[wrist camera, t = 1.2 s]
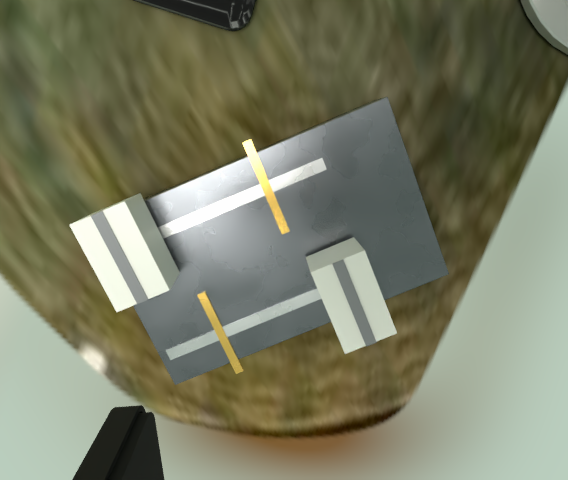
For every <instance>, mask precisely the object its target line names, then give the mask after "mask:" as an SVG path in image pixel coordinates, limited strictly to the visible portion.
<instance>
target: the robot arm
mask: <svg viewBox="0 0 568 480" xmlns="http://www.w3.org/2000/svg"><path fill="white" fill-rule="evenodd" d="M520 1H521V3H522V5H523V8H524V10H525V12H526V15H527V17H528V18H529V19H530V21H531V22H532V24H533V25H534V27H535V28H536V30H537V31H538V32H539V33H540V34H541V35H542V36H543V37H544V38H545V39H546V40H547V41H548V42H549V43H550V44H551V45H552V46H554V47H556V48H557V49H559V50H561V51H562V52H564V53H566V54H567V55H568V0H520ZM73 480H164V475H163V468H162V462H161V456H160V449H159V443H158V437H157V430H156V423H155V418H154V414H153V413H152V412H148V413H146V412H145V409H144V407H143V406H129V407H115V408H113V409H112V410H111V411H110V413H109V415H108V417H107V419H106V421H105V422H104V424H103V426H102V428H101V429H100V431H99V433H98V435H97V437H96V438H95V440H94V442H93V444H92V445H91V447H90V449H89V451H88V453H87V454H86V456H85V458H84V460H83V462H82V464H81V465H80V467H79V469H78V471H77V472H76V474H75V476H74V478H73Z"/></svg>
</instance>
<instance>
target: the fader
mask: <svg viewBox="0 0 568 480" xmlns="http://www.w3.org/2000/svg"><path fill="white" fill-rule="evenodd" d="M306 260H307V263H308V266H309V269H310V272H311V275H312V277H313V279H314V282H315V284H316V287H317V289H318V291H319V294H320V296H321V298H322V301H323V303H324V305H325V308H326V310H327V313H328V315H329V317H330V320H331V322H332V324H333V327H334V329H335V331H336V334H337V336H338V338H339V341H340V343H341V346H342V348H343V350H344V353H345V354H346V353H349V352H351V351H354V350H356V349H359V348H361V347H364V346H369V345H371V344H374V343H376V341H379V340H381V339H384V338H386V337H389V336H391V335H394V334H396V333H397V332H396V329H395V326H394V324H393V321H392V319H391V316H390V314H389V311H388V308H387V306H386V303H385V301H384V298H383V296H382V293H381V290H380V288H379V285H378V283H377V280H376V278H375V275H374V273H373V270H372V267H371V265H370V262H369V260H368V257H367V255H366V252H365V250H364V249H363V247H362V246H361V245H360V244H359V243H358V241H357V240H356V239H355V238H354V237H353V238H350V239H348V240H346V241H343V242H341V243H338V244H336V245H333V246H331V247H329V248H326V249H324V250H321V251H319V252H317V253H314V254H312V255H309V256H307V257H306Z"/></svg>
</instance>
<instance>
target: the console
mask: <svg viewBox="0 0 568 480" xmlns="http://www.w3.org/2000/svg"><path fill="white" fill-rule="evenodd" d="M243 145H244V148H245V150H246V152H247V155H246V156H243V157H241V158H239V159H236V160H234V161H232V162H229V163H227V164H225V165H222V166H220V167H218V168H215V169H213V170H211V171H208V172H206V173H204V174H201V175H199V176H197V177H194V178H192V179H190V180H187V181H185V182H183V183H180V184H178V185H176V186H173V187H171V188H169V189H166V190H164V191H162V192H159V193H157V194H155V195H152V196H150V197H148V198H145V199H143V200H144V202H145V204H146V206H147V208H148V210H149V212H150V214H151V216H152V218H153V220H154V222H155V224H156V226H157V228H158V230H159V232H160V234H161V236H162V238H163V240H164V242H165V244H166V246H167V248H168V250H169V252H170V254H171V256H172V258H173V260H174V262H175V264H176V266H177V268H178V270H179V272H180V273H179V275H178V277H177V279H176V280H175V282H174V284H173V285H172V287H171V289H170V290H169V291H167V292H164V293H162V294H159V295H157V296H155V297H152V298H150V299H148V300H146V301H144V302H141V303H139V304H135V305H133V306H134V308H135V310H136V312H137V314H138V316H139V317H140V319H141V321H142V323H143V325H144V327H145V329H146V331H147V332H148V334H149V336H150V338H151V340H152V342H153V344H154V346H155V348H156V349H157V351H158V353H159V355H160V357H161V359H162V361H163V363H164V364H165V366H166V368H167V370H168V372H169V374H170V376H171V378H172V379H173V381H174V383H175V385H176V384H178V383H181V382H183V381H186V380H188V379H191V378H193V377H196V376H198V375H201V374H203V373H206V372H208V371H210V370H213V369H215V368H218V367H220V366H223V365H225V364H228V363H231V365H232V367H233V369H234V371H235V373H236V374H237V373H240V372H242V371H244V370H243V368H242V366H241V364H240V362H239V360H238V359H240V358H243V357H245V356H248V355H250V354H252V353H255V352H257V351H260V350H262V349H265V348H267V347H270V346H272V345H275V344H277V343H280V342H282V341H285V340H287V339H290V338H292V337H294V336H297V335H299V334H302V333H304V332H307V331H309V330H312V329H314V328H317V327H319V326H322V325H324V324H327V323H329V322H331V320H330V317H329V315H328V313H327V310H326V308H325V305H324V303H323V301H322V298H321V296H320V294H319V291H318V289H317V287H316V284H315V282H314V279H313V277H312V275H311V272H310V269H309V266H308V263H307V260H306V257H307V256H309V255H312V254H314V253H317V252H319V251H321V250H324V249H326V248H329V247H331V246H333V245H336V244H338V243H341V242H343V241H346V240H348V239H350V238H353V237H354V238H355V239H356V240H357V241H358V243H359V244H360V245H361V246H362V247H363V249H364V250H365V252H366V255H367V257H368V260H369V262H370V265H371V267H372V270H373V273H374V275H375V278H376V280H377V283H378V285H379V288H380V290H381V293H382V296H383V298H384V300H386V299H388V298H391V297H393V296H396V295H398V294H401V293H403V292H406V291H408V290H411V289H413V288H415V287H418V286H420V285H423V284H425V283H428V282H430V281H433V280H435V279H438V278H440V277H443V276H445V275H448V274H449V273H448V270H447V267H446V264H445V262H444V259H443V256H442V253H441V250H440V247H439V244H438V241H437V238H436V236H435V233H434V230H433V227H432V224H431V221H430V218H429V215H428V213H427V210H426V207H425V204H424V201H423V198H422V195H421V192H420V190H419V187H418V184H417V181H416V178H415V175H414V172H413V169H412V167H411V164H410V161H409V158H408V155H407V152H406V149H405V146H404V144H403V141H402V138H401V135H400V132H399V129H398V126H397V123H396V120H395V118H394V115H393V112H392V109H391V106H390V103H389V100H388V97H385V98H381V99H378V100H374V101H372V102H369V103H367V104H365V105H362V106H360V107H358V108H355V109H353V110H351V111H348V112H346V113H344V114H341V115H339V116H337V117H334V118H332V119H330V120H327V121H325V122H323V123H320V124H318V125H316V126H313V127H311V128H309V129H306V130H304V131H302V132H299V133H297V134H295V135H292V136H290V137H288V138H285V139H283V140H281V141H278V142H276V143H274V144H271V145H269V146H267V147H264V148H262V149H260V150H257V151H256V150H255V148H254V145H253V143H252V141H251V139H250V140H248V141H246V142H243Z"/></svg>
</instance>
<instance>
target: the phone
mask: <svg viewBox="0 0 568 480" xmlns="http://www.w3.org/2000/svg"><path fill="white" fill-rule="evenodd" d="M134 1H137V2H140V3H143V4H147V5H150V6H153V7H156V8H159V9H162V10H165V11H168V12H172V13H175V14H178V15H181V16H184V17H187V18H190V19H194V20H197V21H200V22H203V23H206V24H209V25H212V26H215V27H219V28H222V29H225V30H229V31H236V30H240V29H242V28H244V27H245V26H246V25H247V24H248V22H249V21H250V18H251V16H252V13H253V9H254V5H255V1H256V0H134Z"/></svg>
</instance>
